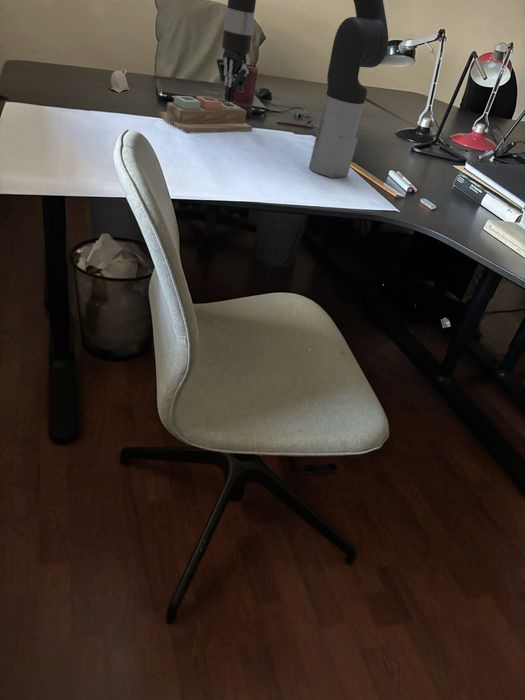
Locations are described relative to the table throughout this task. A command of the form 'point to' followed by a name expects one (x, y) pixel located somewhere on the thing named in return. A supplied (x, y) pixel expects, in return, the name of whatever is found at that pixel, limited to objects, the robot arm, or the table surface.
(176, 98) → the sage key
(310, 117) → the table surface
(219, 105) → the terracotta key
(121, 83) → the decorative ornament
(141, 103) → the table surface
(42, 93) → the table surface
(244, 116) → the keypad board
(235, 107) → the cream key
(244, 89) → the can
